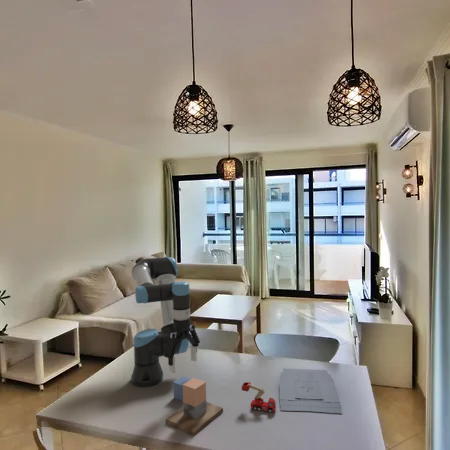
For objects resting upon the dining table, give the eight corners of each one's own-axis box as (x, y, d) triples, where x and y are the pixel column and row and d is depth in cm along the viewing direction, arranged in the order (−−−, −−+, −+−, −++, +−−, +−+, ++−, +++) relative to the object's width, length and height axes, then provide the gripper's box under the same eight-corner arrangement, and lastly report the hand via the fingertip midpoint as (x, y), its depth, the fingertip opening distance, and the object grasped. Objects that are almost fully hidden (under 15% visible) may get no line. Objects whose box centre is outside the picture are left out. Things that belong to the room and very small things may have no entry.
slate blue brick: (173, 397, 152) (173, 382, 152) (183, 391, 158) (183, 376, 157) (184, 402, 149) (184, 386, 148) (194, 395, 154) (194, 380, 154)
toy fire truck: (275, 413, 139) (274, 389, 138) (241, 408, 143) (241, 384, 143) (276, 408, 142) (276, 385, 141) (244, 403, 146) (243, 381, 146)
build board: (166, 422, 134) (165, 406, 134) (196, 401, 149) (196, 386, 149) (193, 435, 126) (193, 418, 126) (223, 411, 141) (222, 395, 141)
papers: (330, 375, 167) (330, 368, 166) (342, 420, 137) (342, 411, 137) (279, 373, 170) (279, 366, 169) (280, 416, 141) (280, 408, 140)
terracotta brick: (183, 402, 137) (182, 384, 136) (193, 394, 142) (193, 378, 142) (195, 407, 133) (195, 389, 133) (206, 399, 138) (205, 382, 138)
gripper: (167, 327, 139) (169, 379, 140) (206, 312, 160) (208, 358, 160) (154, 324, 144) (156, 375, 144) (194, 309, 164) (195, 354, 165)
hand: (183, 366), depth 152 cm, fingers open, 13 cm apart
